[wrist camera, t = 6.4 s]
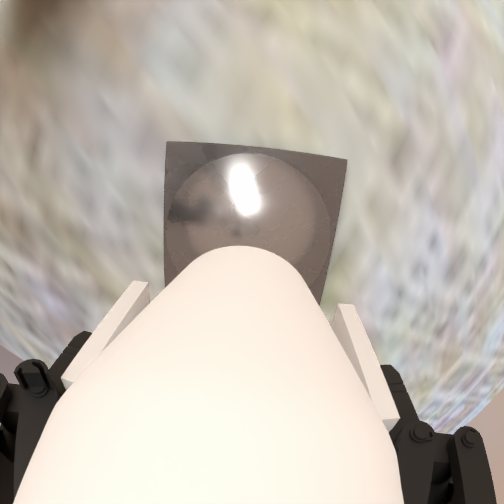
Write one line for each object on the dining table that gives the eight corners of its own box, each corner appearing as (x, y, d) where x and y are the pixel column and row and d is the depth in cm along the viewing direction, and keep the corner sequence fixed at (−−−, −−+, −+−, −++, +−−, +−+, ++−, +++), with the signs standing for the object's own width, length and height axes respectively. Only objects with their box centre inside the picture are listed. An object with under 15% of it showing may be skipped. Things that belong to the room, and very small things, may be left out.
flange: (167, 296, 27) (162, 304, 26) (168, 141, 22) (162, 142, 20) (315, 311, 27) (318, 321, 26) (345, 159, 22) (350, 161, 21)
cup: (372, 295, 14) (478, 532, 3) (256, 395, 17) (246, 587, 5) (219, 174, 12) (-34, 460, 1) (124, 315, 15) (11, 509, 4)
